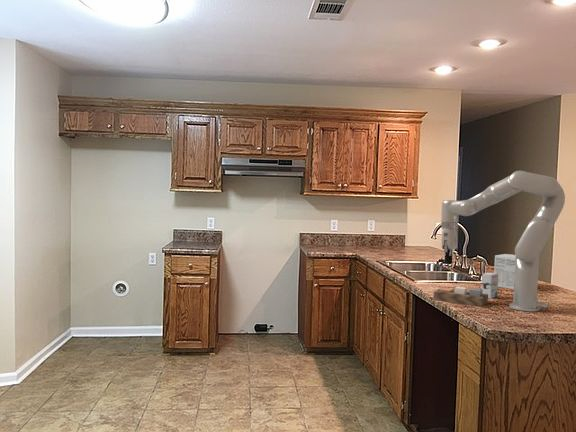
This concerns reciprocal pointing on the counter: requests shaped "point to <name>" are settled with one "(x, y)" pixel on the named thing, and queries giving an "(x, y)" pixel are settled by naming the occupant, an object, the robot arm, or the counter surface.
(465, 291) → the key ivory
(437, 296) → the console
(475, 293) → the key slate
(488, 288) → the ink box
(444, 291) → the key terracotta
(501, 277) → the supplement box
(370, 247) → the counter surface
